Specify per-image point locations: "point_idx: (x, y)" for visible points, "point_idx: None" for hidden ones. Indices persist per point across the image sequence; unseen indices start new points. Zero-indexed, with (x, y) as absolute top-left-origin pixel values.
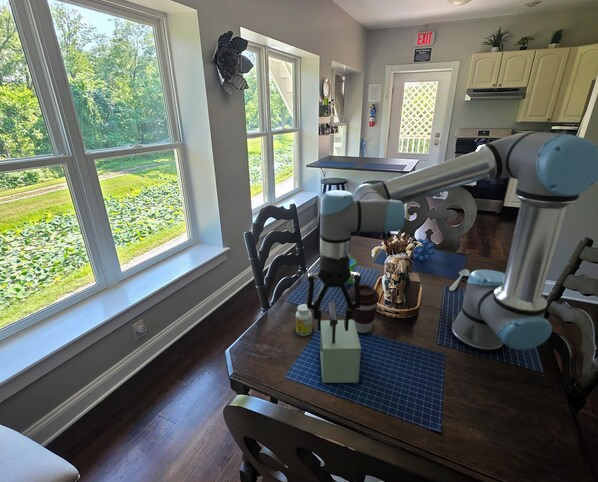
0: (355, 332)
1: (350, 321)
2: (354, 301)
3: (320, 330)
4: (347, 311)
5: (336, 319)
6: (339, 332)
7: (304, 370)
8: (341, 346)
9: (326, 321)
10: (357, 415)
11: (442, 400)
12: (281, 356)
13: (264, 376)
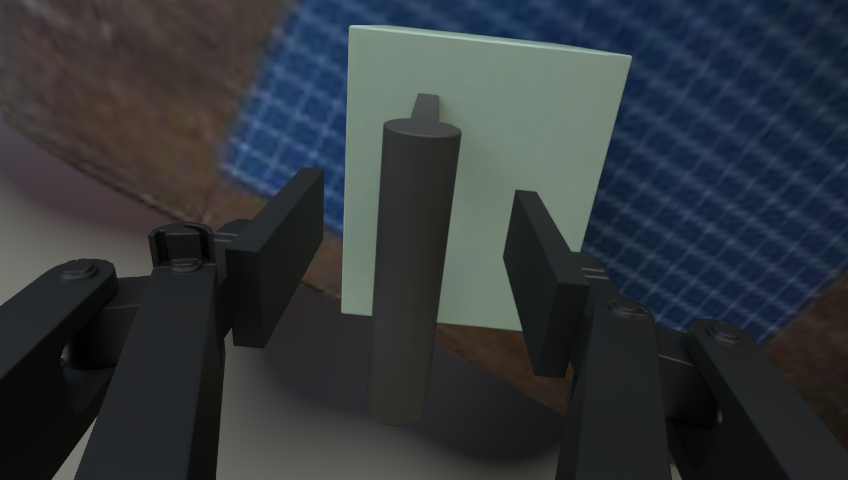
0: (581, 205)
1: (595, 72)
2: (686, 367)
3: (320, 241)
4: (545, 373)
5: (413, 415)
6: (470, 190)
7: (302, 143)
8: (451, 308)
9: (397, 47)
10: (470, 345)
11: (778, 329)
12: (183, 36)
13: (130, 156)
